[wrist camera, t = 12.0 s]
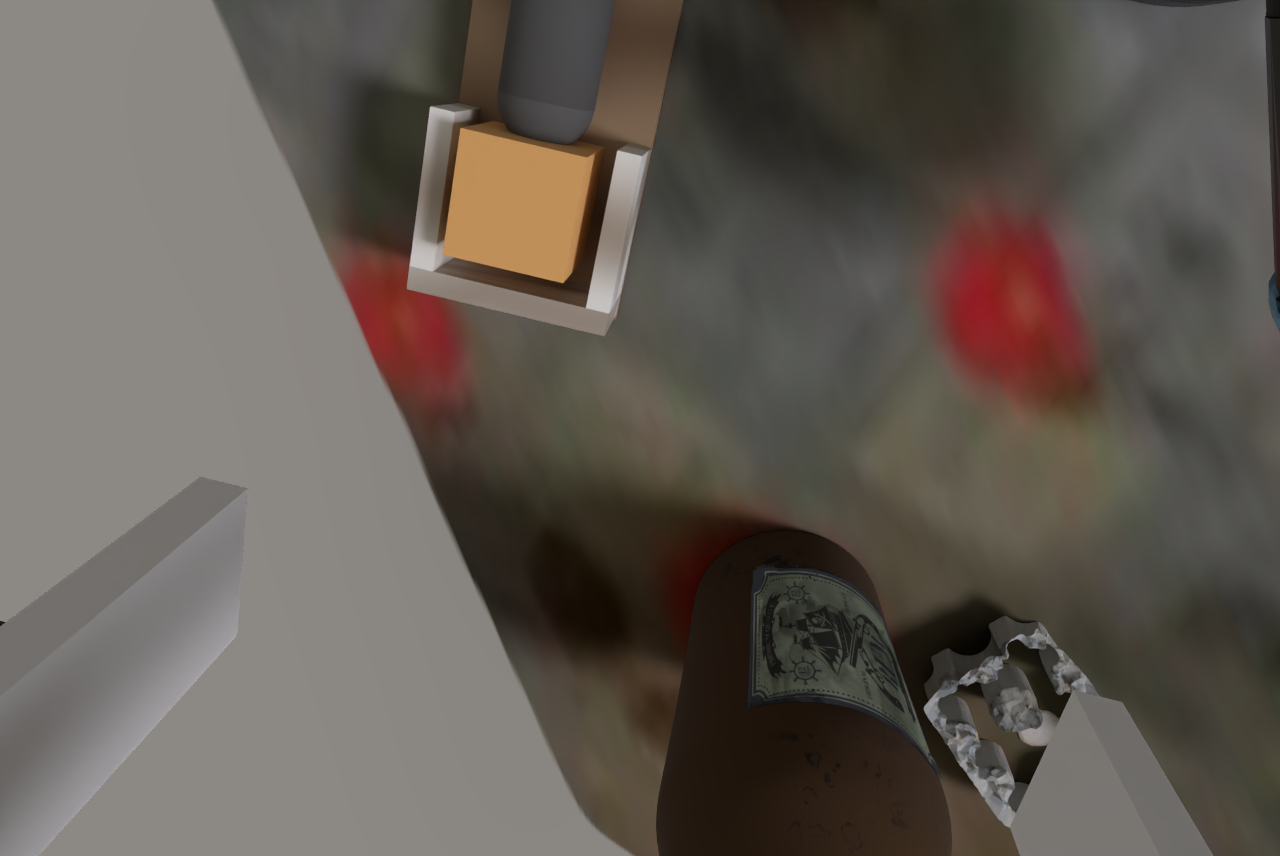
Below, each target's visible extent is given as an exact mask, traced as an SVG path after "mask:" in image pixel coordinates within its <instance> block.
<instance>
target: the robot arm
mask: <svg viewBox="0 0 1280 856" xmlns="http://www.w3.org/2000/svg"><path fill="white" fill-rule="evenodd" d="M1134 1H1137V2H1141V3H1146V4H1152V5H1159V6H1169V7H1192V6H1204V5H1212V4H1219V3H1226V2H1233V1H1239V0H1134ZM1265 35H1266V61H1267V86H1268V112H1269V137H1270V163H1271V188H1272V214H1273V239H1274V264H1275V272H1274V274H1273V276H1272V277H1271V279H1270V281H1269V305H1270V310H1271V314H1272V317H1273V319H1274V321H1275V323H1276V325H1277V327H1278V329H1279V331H1280V0H1266V16H1265ZM247 491H248V488H243V487H240V486H236V485H232V484H228V483H223V482H219V481H215V480H211V479H207V478H203V477H200V478H198V479H197V480H196V481H194V482H193V483H192V484H190V485H189V486H188V487H186V488H185V489H184V490H182V491H181V492H180V493H178V494H177V495H176V496H174V497H173V498H172V499H170V500H169V501H168V502H166V503H165V504H164V505H162V506H161V507H159V508H158V509H157V510H155V511H154V512H153V513H151V514H150V515H149V516H147V517H146V518H145V519H143V520H142V521H141V522H139V523H138V524H137V525H135V526H134V527H133V528H131V529H130V530H129V531H127V532H126V533H125V534H123V535H122V536H121V537H119V538H118V539H117V540H115V541H114V542H113V543H111V544H110V545H109V546H107V547H106V548H105V549H103V550H102V551H101V552H99V553H98V554H97V555H95V556H94V557H93V558H91V559H90V560H89V561H87V562H86V563H85V564H83V565H82V566H80V567H79V568H78V569H77V570H75V571H74V572H73V573H71V574H70V575H68V576H67V577H66V578H65V579H63V580H62V581H60V582H59V583H58V584H57V585H55V586H54V587H52V588H51V589H50V590H49V591H47V592H46V593H44V594H43V595H42V596H40V597H39V598H38V599H36V600H35V601H34V602H32V603H31V604H30V605H28V606H27V607H26V608H24V609H23V610H22V611H20V612H19V613H18V614H16V615H15V616H14V617H12V618H11V619H10V620H8V621H7V622H2V621H0V856H39V855H40V854H41V853H42V851H43V850H44V849H45V848H46V847H47V846H48V845H49V843H51V841H52V840H53V839H54V838H55V837H56V836H57V835H58V834H59V833H60V831H61V830H62V829H63V828H64V827H65V826H66V825H67V824H68V823H69V821H70V820H71V819H72V818H73V817H74V816H75V815H76V814H77V813H78V811H79V810H80V809H81V808H82V807H83V806H84V805H85V803H86V802H87V801H88V800H89V799H90V798H91V797H92V796H93V795H94V794H95V793H96V791H97V790H98V789H99V788H100V787H101V786H102V785H103V784H104V783H105V781H106V780H107V779H108V778H109V777H110V776H111V775H112V774H113V772H114V771H115V770H116V769H117V768H118V767H119V766H120V765H121V764H122V762H123V761H124V760H125V759H126V758H127V757H128V756H129V755H130V754H131V753H132V751H133V750H134V749H135V748H136V747H137V746H138V745H139V744H140V743H141V741H142V740H143V739H144V738H145V737H146V736H147V735H148V734H149V732H150V731H151V730H152V729H153V728H154V727H155V726H156V725H157V724H158V723H159V721H160V720H161V719H162V718H163V717H164V716H165V715H166V714H167V713H168V711H169V710H170V709H171V708H172V707H173V706H174V705H175V704H176V703H177V701H178V700H179V699H180V698H181V697H182V696H183V695H184V693H185V692H186V691H187V690H188V689H189V688H190V687H191V686H192V685H193V683H194V682H195V681H196V680H197V679H198V678H199V677H200V676H201V675H202V674H203V672H204V671H205V670H206V669H207V668H208V667H209V666H210V665H211V664H212V663H213V661H214V660H215V659H216V658H217V657H218V656H219V655H220V654H221V653H222V651H223V650H224V649H225V648H226V647H227V646H228V645H229V643H230V642H231V641H232V640H233V639H234V638H235V637H236V636H237V631H238V617H239V602H240V589H241V574H242V561H243V546H244V532H245V519H246V505H247ZM1010 828H1011V831H1012V834H1013V837H1014V839H1015V842H1016V845H1017V848H1018V851H1019V854H1020V856H1213V855H1212V853H1211V851H1210V849H1209V848H1208V846H1207V844H1206V843H1205V841H1204V839H1203V838H1202V836H1201V834H1200V833H1199V831H1198V829H1197V828H1196V826H1195V824H1194V823H1193V821H1192V819H1191V817H1190V816H1189V814H1188V812H1187V811H1186V809H1185V807H1184V806H1183V804H1182V802H1181V801H1180V799H1179V797H1178V796H1177V794H1176V792H1175V790H1174V789H1173V787H1172V785H1171V784H1170V782H1169V780H1168V779H1167V777H1166V775H1165V774H1164V772H1163V770H1162V769H1161V767H1160V765H1159V763H1158V762H1157V760H1156V758H1155V757H1154V755H1153V753H1152V752H1151V750H1150V748H1149V747H1148V745H1147V743H1146V742H1145V740H1144V738H1143V737H1142V735H1141V733H1140V731H1139V730H1138V728H1137V726H1136V725H1135V723H1134V721H1133V720H1132V718H1131V716H1130V715H1129V713H1128V711H1127V710H1126V708H1125V706H1124V704H1123V703H1122V702H1120V701H1115V700H1111V699H1107V698H1103V697H1099V696H1095V695H1091V694H1087V693H1083V692H1079V691H1075V690H1073V691H1072V693H1071V696H1070V698H1069V700H1068V702H1067V704H1066V706H1065V709H1064V711H1063V713H1062V715H1061V717H1060V719H1059V722H1058V724H1057V726H1056V728H1055V730H1054V732H1053V735H1052V737H1051V739H1050V741H1049V743H1048V745H1047V747H1046V750H1045V752H1044V754H1043V756H1042V758H1041V760H1040V763H1039V765H1038V767H1037V769H1036V771H1035V773H1034V776H1033V778H1032V780H1031V782H1030V784H1029V786H1028V789H1027V791H1026V793H1025V795H1024V797H1023V799H1022V802H1021V804H1020V806H1019V808H1018V810H1017V812H1016V814H1015V817H1014V819H1013V821H1012V823H1011V825H1010Z"/></svg>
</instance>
